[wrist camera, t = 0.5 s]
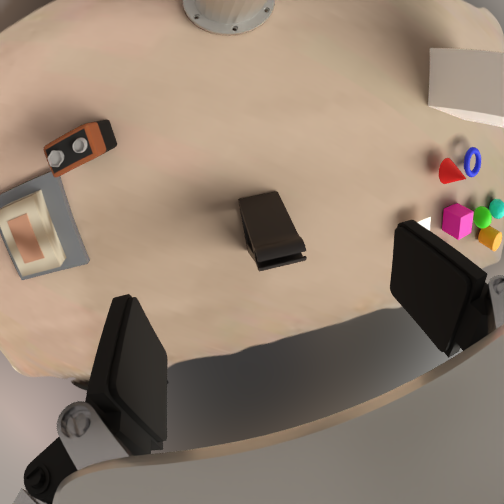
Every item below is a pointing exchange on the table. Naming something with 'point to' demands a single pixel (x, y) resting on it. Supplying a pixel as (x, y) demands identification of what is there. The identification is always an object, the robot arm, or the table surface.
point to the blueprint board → (59, 217)
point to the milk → (468, 84)
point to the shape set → (460, 217)
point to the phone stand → (270, 232)
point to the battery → (79, 146)
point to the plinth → (31, 234)
